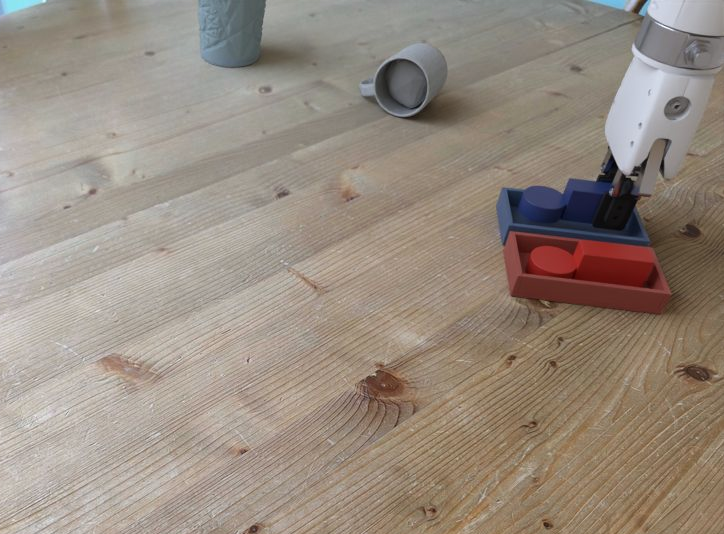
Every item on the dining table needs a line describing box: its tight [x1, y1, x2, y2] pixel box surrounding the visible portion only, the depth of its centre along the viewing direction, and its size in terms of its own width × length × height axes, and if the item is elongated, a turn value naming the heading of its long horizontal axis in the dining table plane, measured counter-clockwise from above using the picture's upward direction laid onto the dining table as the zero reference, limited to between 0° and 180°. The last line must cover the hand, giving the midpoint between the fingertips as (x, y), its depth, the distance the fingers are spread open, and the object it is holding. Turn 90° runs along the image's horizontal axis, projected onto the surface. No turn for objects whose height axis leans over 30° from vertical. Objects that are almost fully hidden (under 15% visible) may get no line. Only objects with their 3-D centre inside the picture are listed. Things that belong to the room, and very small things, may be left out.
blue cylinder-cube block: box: [519, 177, 637, 227], centre depth 77 cm, size 11×4×4 cm, turn 82°
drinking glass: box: [197, 0, 267, 68], centre depth 104 cm, size 10×10×12 cm
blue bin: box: [495, 186, 651, 247], centre depth 79 cm, size 14×7×2 cm, turn 82°
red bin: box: [503, 231, 673, 315], centre depth 73 cm, size 14×7×2 cm, turn 82°
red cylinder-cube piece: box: [526, 240, 655, 288], centre depth 72 cm, size 11×4×4 cm, turn 82°
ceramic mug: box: [358, 42, 449, 118], centre depth 97 cm, size 11×8×8 cm
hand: (604, 217), depth 78 cm, fingers closed on blue cylinder-cube block, 2 cm apart
